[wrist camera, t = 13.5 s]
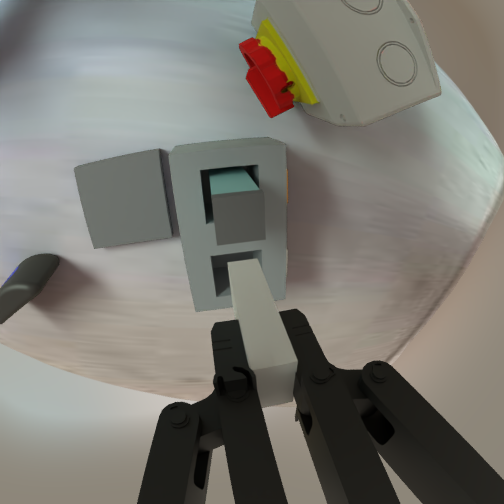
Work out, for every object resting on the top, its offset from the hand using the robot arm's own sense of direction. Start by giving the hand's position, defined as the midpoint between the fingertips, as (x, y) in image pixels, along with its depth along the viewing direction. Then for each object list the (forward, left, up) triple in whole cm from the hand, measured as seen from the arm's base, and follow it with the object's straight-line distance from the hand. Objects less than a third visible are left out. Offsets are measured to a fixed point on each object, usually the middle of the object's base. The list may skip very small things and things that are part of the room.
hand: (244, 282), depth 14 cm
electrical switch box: (-15, +11, -25) cm, 31 cm away
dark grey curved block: (+11, -34, -25) cm, 43 cm away
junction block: (+5, +1, -24) cm, 25 cm away
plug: (0, +1, -23) cm, 23 cm away
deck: (+1, -13, -24) cm, 28 cm away
